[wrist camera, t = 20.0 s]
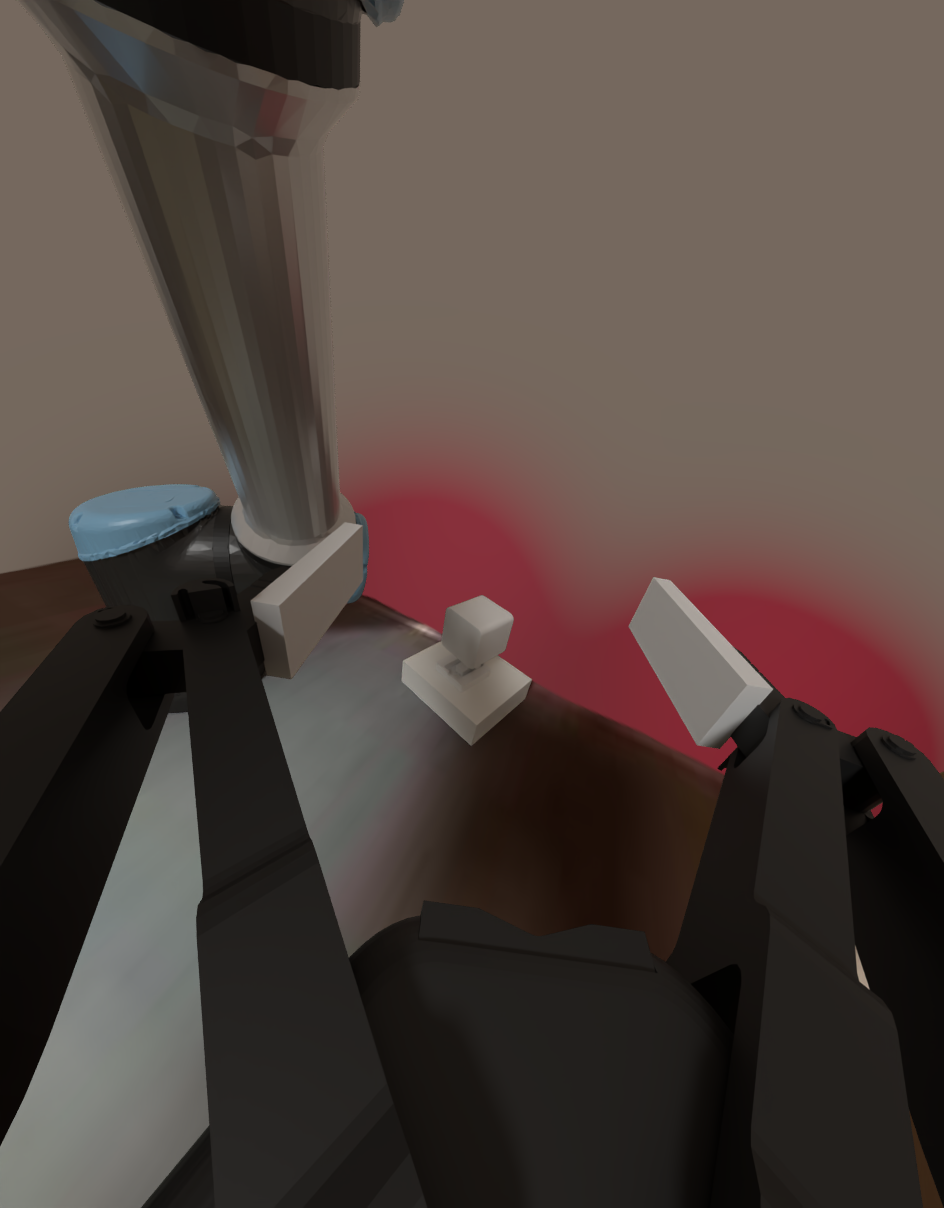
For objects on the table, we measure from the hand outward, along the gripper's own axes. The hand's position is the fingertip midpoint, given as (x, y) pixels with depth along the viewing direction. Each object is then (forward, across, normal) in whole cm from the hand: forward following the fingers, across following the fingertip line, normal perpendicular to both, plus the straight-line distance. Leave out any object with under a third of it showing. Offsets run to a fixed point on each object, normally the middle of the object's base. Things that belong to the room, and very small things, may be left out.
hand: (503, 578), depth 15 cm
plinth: (+22, +1, -30) cm, 37 cm away
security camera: (+22, +1, -26) cm, 34 cm away
